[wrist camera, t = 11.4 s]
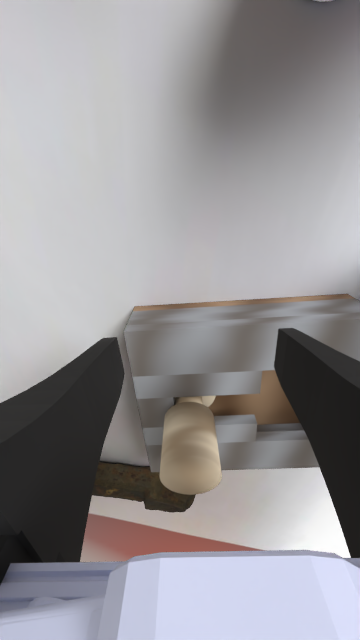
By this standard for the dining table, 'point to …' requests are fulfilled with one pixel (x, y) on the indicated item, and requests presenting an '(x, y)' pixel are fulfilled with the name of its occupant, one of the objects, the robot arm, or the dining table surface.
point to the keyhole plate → (232, 370)
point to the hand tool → (138, 487)
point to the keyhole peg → (190, 447)
